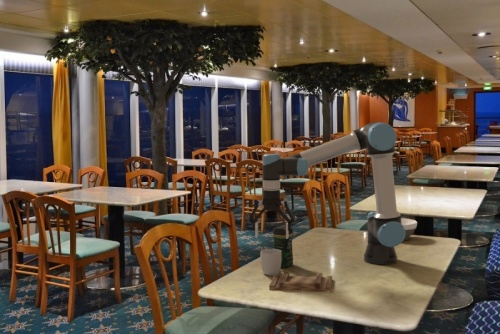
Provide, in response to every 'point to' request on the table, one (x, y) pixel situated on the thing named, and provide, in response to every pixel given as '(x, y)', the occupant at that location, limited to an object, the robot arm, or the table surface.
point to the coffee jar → (283, 244)
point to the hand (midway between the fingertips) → (271, 237)
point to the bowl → (408, 227)
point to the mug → (271, 261)
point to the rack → (301, 283)
